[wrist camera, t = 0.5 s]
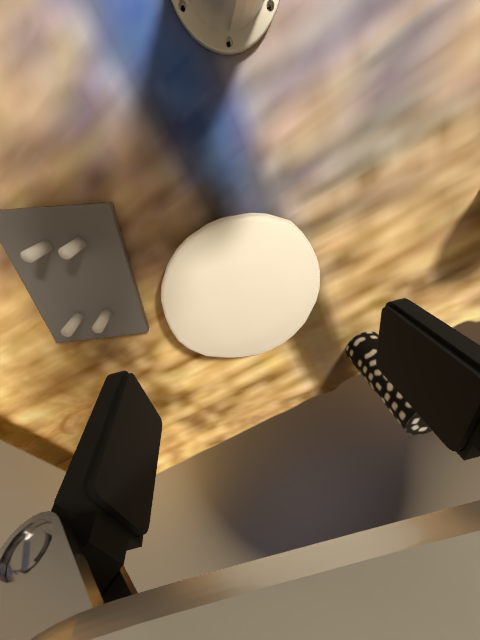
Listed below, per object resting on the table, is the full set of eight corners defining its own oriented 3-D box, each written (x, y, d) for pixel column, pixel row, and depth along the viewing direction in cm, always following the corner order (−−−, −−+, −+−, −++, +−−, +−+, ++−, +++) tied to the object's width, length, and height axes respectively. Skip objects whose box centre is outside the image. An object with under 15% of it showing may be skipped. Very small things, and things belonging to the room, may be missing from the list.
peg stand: (-9, 210, 35) (-47, 219, 29) (112, 201, 36) (97, 208, 31) (60, 338, 47) (42, 362, 41) (149, 327, 48) (143, 349, 43)
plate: (313, 186, 35) (333, 331, 49) (293, 184, 40) (316, 315, 55) (123, 263, 34) (201, 388, 48) (129, 250, 39) (197, 366, 54)
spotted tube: (342, 361, 60) (397, 437, 44) (351, 332, 56) (417, 405, 39) (373, 358, 62) (439, 432, 45) (385, 330, 57) (463, 400, 41)
